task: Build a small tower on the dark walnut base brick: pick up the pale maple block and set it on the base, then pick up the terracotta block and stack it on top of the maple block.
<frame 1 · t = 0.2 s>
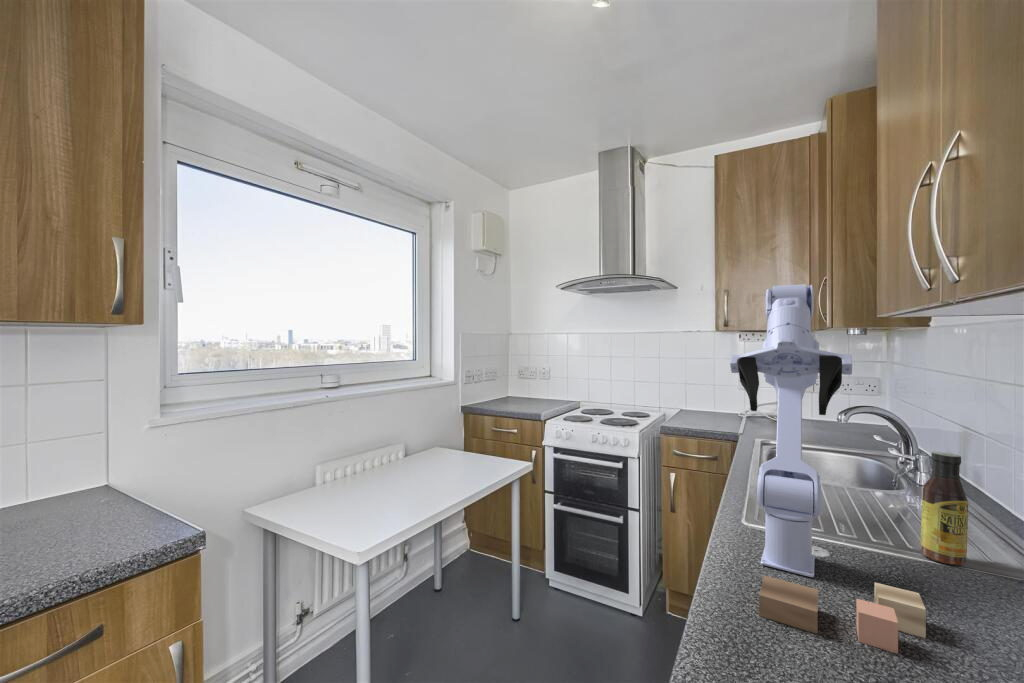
hand: (786, 408, 58), 31 cm above the counter, tool tilted 45°, fingers open, 7 cm apart
sauce bottle: (943, 560, 83), on the counter
walnut base: (788, 612, 65), on the counter
terracotta block: (876, 640, 59), on the counter
maple block: (898, 623, 63), on the counter
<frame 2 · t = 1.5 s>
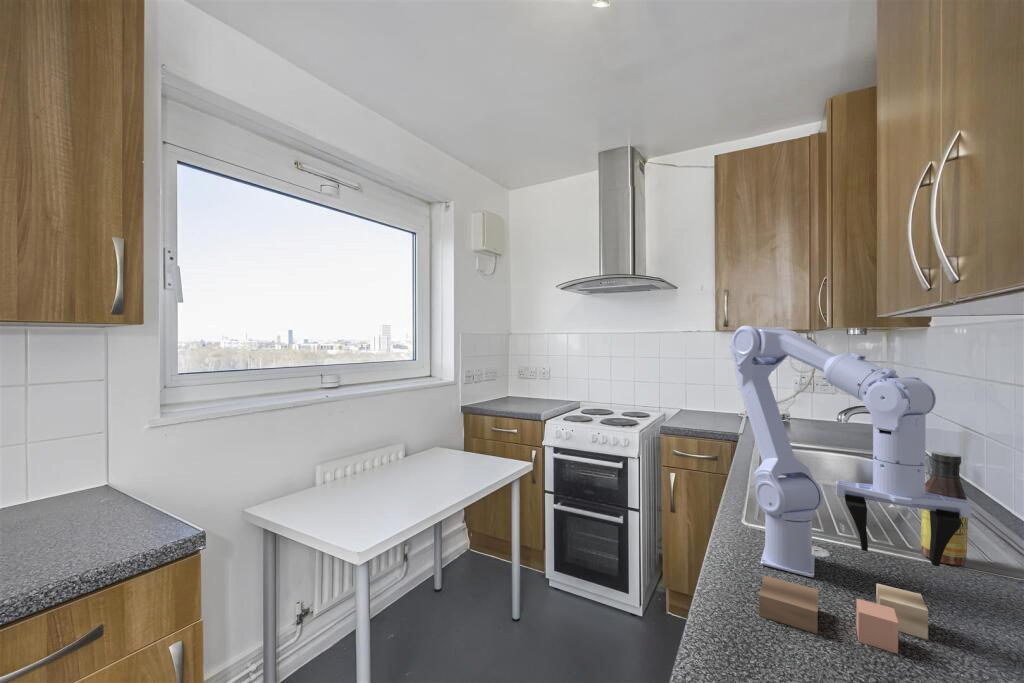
hand: (898, 555, 64), 9 cm above the counter, tool pointing down, fingers open, 7 cm apart
nothing on the counter moved.
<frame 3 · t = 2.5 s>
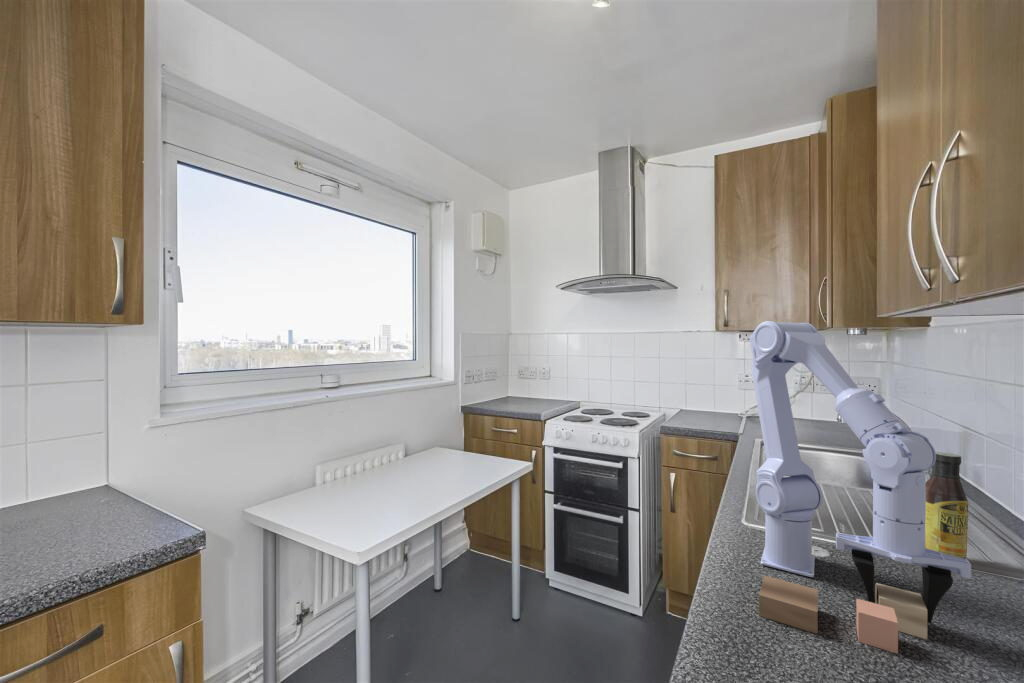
hand: (898, 611, 64), 1 cm above the counter, tool pointing down, fingers open, 5 cm apart
maple block: (900, 624, 63), on the counter, touching gripper
everything else where it was.
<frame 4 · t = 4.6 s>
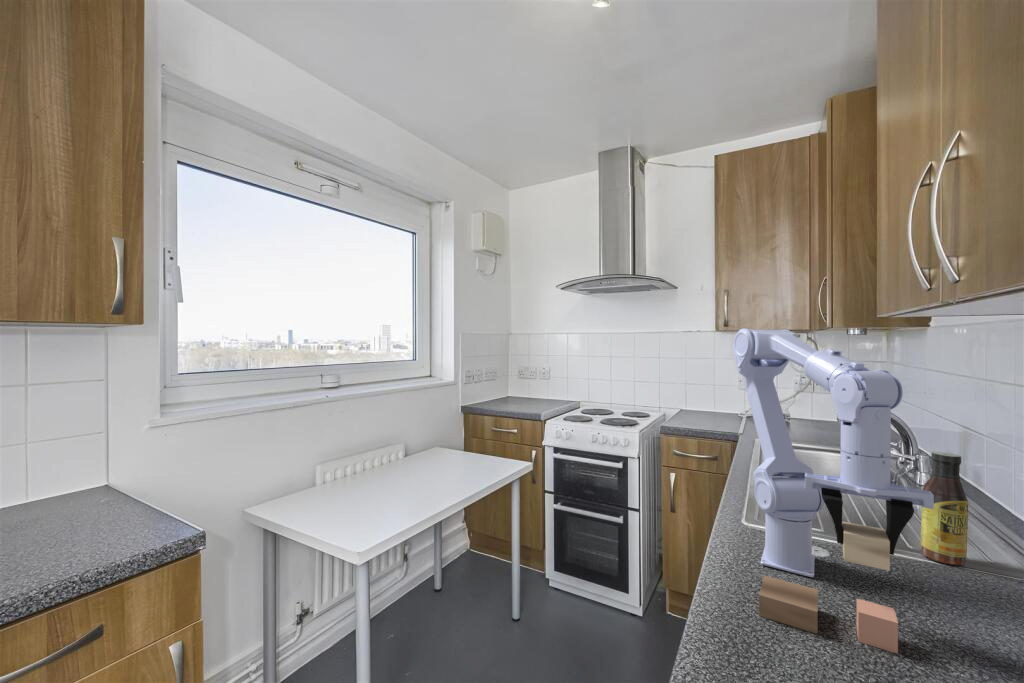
hand: (864, 546, 64), 10 cm above the counter, tool pointing down, fingers closed on maple block, 5 cm apart
maple block: (864, 558, 64), point 9 cm above the counter, touching gripper
everything else where it was.
when the fingers open (6 cm above the counter, at t = 6.5 s): maple block drops 1 cm, resting on walnut base.
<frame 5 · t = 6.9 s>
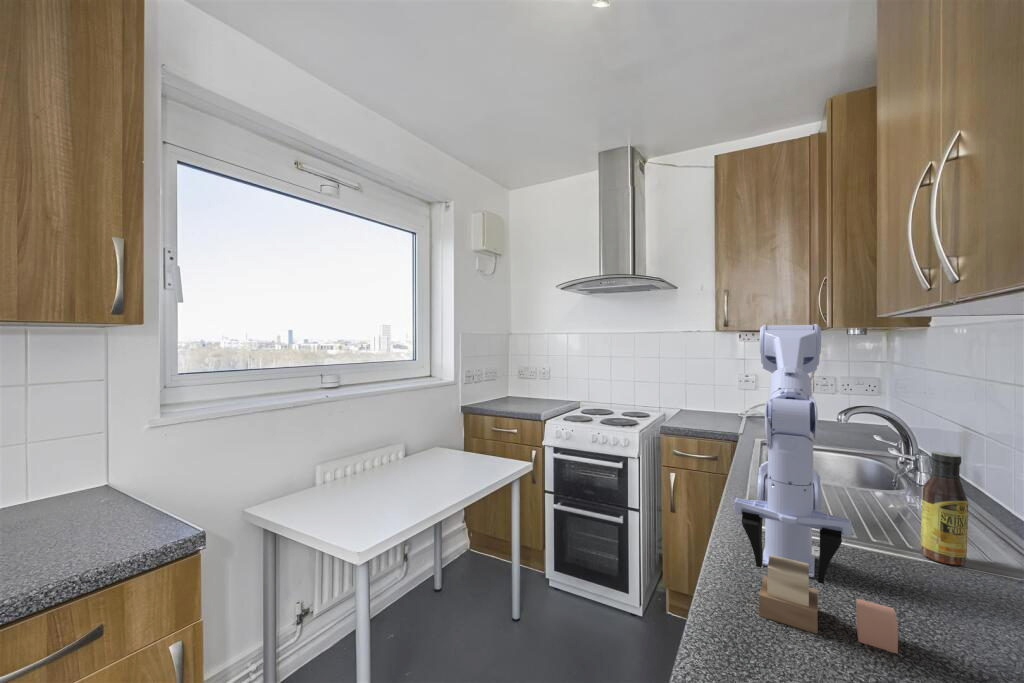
hand: (789, 572, 65), 6 cm above the counter, tool pointing down, fingers open, 7 cm apart
maple block: (788, 593, 65), point 3 cm above the counter, touching walnut base
everything else where it was.
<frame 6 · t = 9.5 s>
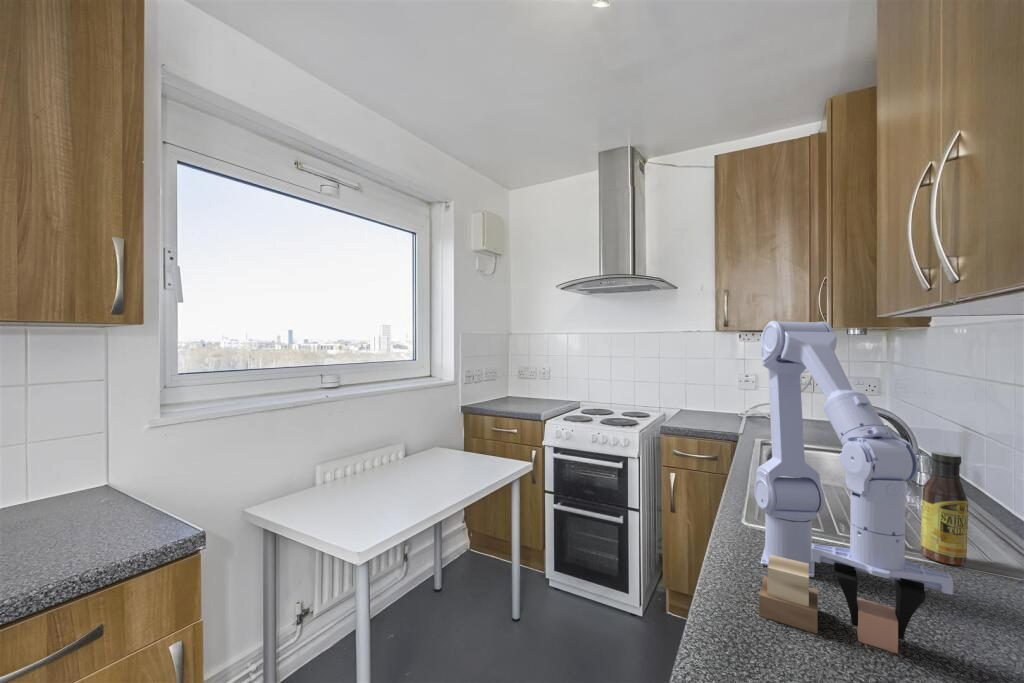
hand: (876, 628, 60), 1 cm above the counter, tool pointing down, fingers closed on terracotta block, 4 cm apart
terracotta block: (876, 639, 59), on the counter, touching gripper
everything else where it was.
when the fingers open (9 cm above the counter, at t = 12.4 s): terracotta block stays where it is, resting on maple block.
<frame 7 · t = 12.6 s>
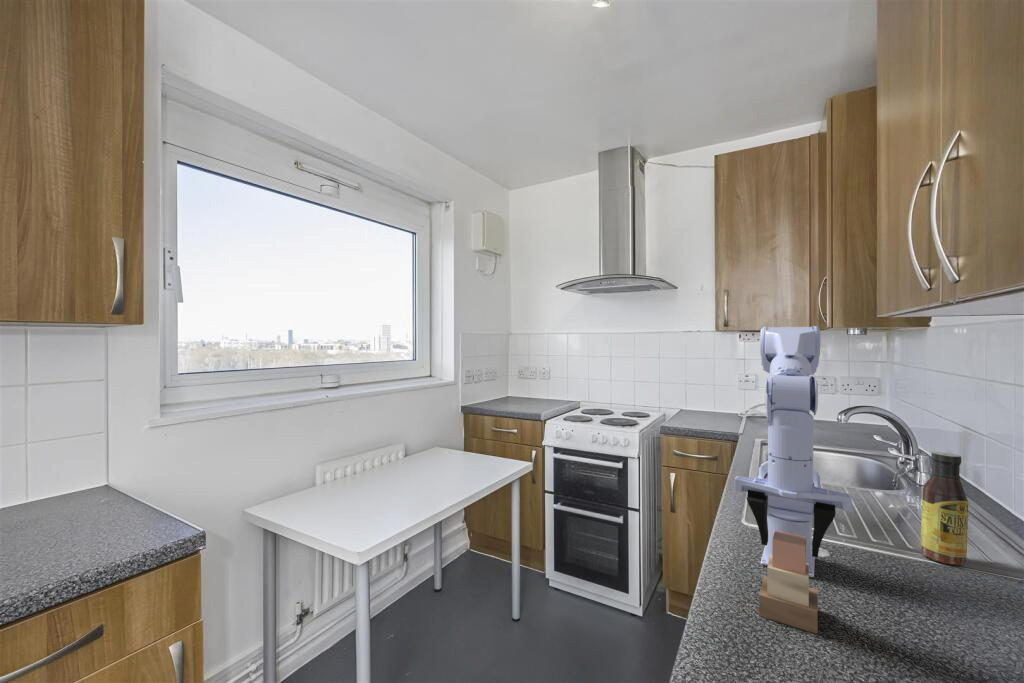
hand: (789, 548, 65), 9 cm above the counter, tool pointing down, fingers open, 6 cm apart
terracotta block: (789, 565, 65), point 7 cm above the counter, touching maple block
maple block: (788, 593, 65), point 3 cm above the counter, touching terracotta block, walnut base
everything else where it was.
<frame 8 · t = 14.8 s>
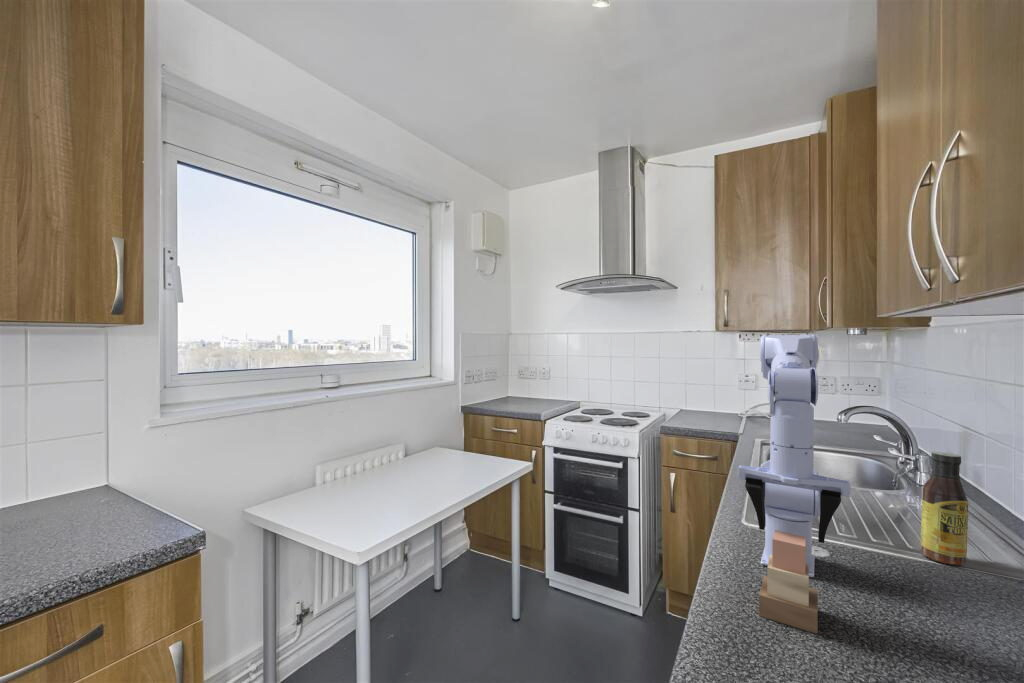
hand: (790, 534, 68), 10 cm above the counter, tool pointing down, fingers open, 7 cm apart
nothing on the counter moved.
at the end: maple block 0.3 cm off-centre on the walnut base, point 3.0 cm above the walnut base's base; terracotta block 0.1 cm off-centre on the walnut base, point 7.0 cm above the walnut base's base; terracotta block tilted 0° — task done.
